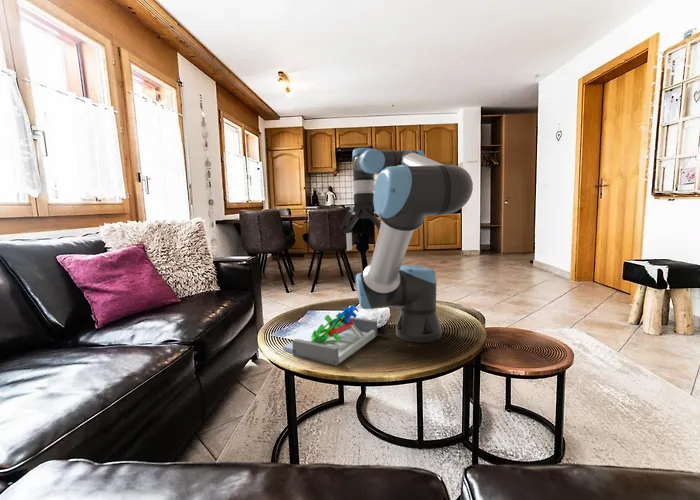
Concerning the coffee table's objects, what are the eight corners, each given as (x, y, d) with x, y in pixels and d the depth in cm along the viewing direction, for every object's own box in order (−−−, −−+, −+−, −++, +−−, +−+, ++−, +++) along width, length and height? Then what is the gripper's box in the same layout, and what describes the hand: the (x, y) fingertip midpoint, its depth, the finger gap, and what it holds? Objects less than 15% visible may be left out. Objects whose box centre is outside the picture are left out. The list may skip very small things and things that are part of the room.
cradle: (377, 335, 121) (376, 320, 121) (335, 366, 99) (335, 349, 98) (339, 328, 129) (338, 315, 128) (293, 356, 107) (292, 340, 106)
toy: (344, 324, 126) (358, 301, 120) (363, 344, 122) (378, 321, 116) (303, 343, 110) (317, 317, 105) (323, 366, 106) (338, 340, 101)
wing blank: (299, 344, 116) (298, 338, 116) (308, 347, 114) (308, 341, 114) (283, 352, 111) (282, 346, 110) (292, 355, 108) (292, 349, 108)
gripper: (400, 191, 127) (400, 250, 130) (340, 194, 140) (342, 248, 142) (391, 191, 121) (392, 253, 123) (329, 194, 133) (331, 250, 136)
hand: (365, 250), depth 133 cm, fingers open, 13 cm apart
